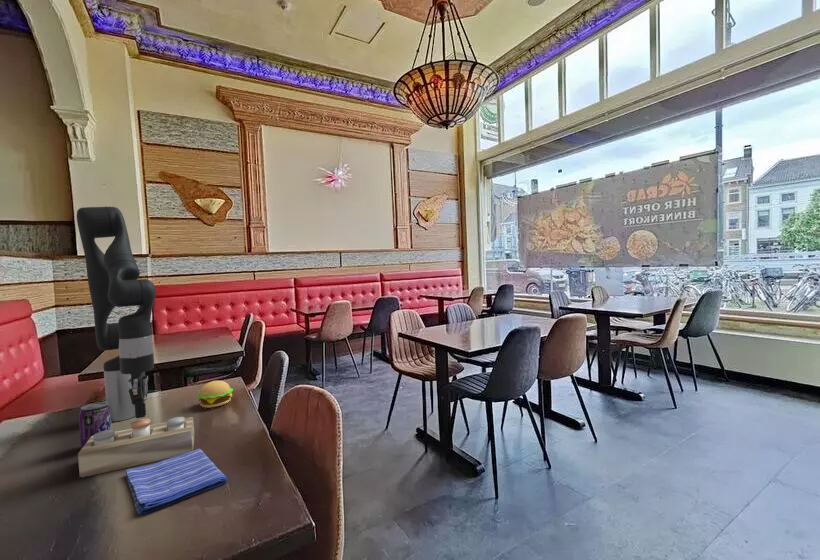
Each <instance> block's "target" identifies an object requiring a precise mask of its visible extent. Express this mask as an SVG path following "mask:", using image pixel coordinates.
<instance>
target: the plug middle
mask: <svg viewBox="0 0 820 560" xmlns="http://www.w3.org/2000/svg"><path fill="white" fill-rule="evenodd" d="M151 423H152V421H151V418H146V417H145V418H139V419H136V420H134V421H132V422H131V423H130V429H132V430H133V438H136V437H141V436H146V435H150V425H152V424H151Z"/></svg>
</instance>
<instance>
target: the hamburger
mask: <svg viewBox="0 0 820 560" xmlns="http://www.w3.org/2000/svg"><path fill="white" fill-rule="evenodd" d="M233 391H234V389H233V388H232V387H231V386H230V385H229V383H227V382H225V381H222V380H212V381H210V382H207V383H205V384H204V385H202V387H200V390H199V392H198V393H197V395H196V397H197V399H198V401H199V402H200V404H199V405H200V407H201V406H202V407H201V408H203V407H215V406H220V405H223V404H226V403H228V402H229V401H230V402H231V398H232V397H233V393H232V392H233ZM230 402H229V403H230ZM229 403H228V404H229Z"/></svg>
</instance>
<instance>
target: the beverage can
mask: <svg viewBox="0 0 820 560" xmlns="http://www.w3.org/2000/svg"><path fill="white" fill-rule="evenodd" d="M78 421H79V424H78V425H79V434H80V436H79V437H80V438H79V439H80V450H81V449H82V448H83V447H84V445H85V444H86V443H87V441H88V440H89V439H90V438H91V436H93V435H94V434H96V433H98V432H101V431H105V430H113V427H112V421H111V412H110V407H109V406H108V402H106V401H99V402H94V403H93V402H92V403H89V404H86V405H83V406H81V407H80V412H79V414H78Z"/></svg>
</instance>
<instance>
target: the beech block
mask: <svg viewBox="0 0 820 560" xmlns="http://www.w3.org/2000/svg"><path fill="white" fill-rule="evenodd" d="M184 418H185V422H184V428H181V429H176V430H171V431H168V426H166V421H165V422H157V423H153V424H150V435H146V436H141V437H136V438H133V430H132V428H128V429H123V430H118V431H117V430H116V431H115V435H114V442H111V443H106V444H101V445H96V446H95V440H94V439H93V436H91V438H90V439H89V440H88V441H87V443H86V444H85V445H84V447H83V448H82V449H81V448H80V450H79V452H78V453H77V457H78V470H79V472H78V473H79V478H80V477H82V478H87V477H90V476H91V477H92V476H95V475H100V474H104V473H108V472H113V471H117V470H121V469H125V468H130V467H131V468H132V467H135V466H136V467H137V466H139V465H144V464H149V463H152V462H153V463H154V462H157V461H158V462H159V461H163V460H166V459H169V458H172V457H175V456H178V455H181V454H184V453H187V452H190V451H193V450H194V445H195V444H194V443H195V426H194V425H195V421H194V417H193V416H191V417H184ZM86 476H87V477H86Z"/></svg>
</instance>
